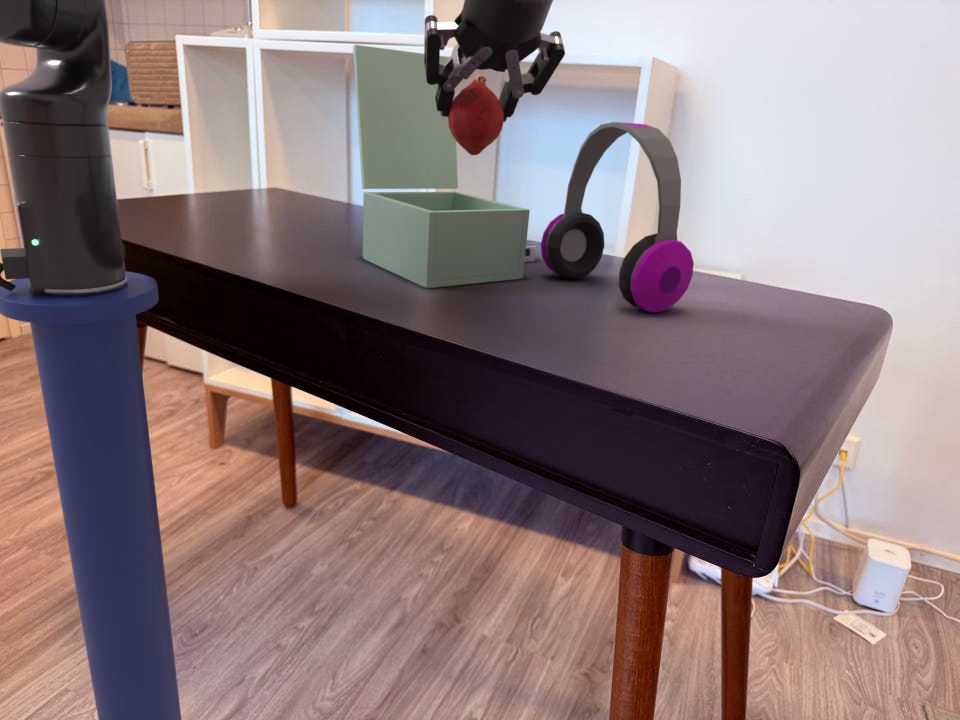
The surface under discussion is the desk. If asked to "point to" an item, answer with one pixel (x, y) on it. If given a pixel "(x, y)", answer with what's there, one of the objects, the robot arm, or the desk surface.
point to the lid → (401, 123)
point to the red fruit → (476, 117)
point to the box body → (444, 237)
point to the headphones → (650, 262)
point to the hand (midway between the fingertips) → (472, 112)
